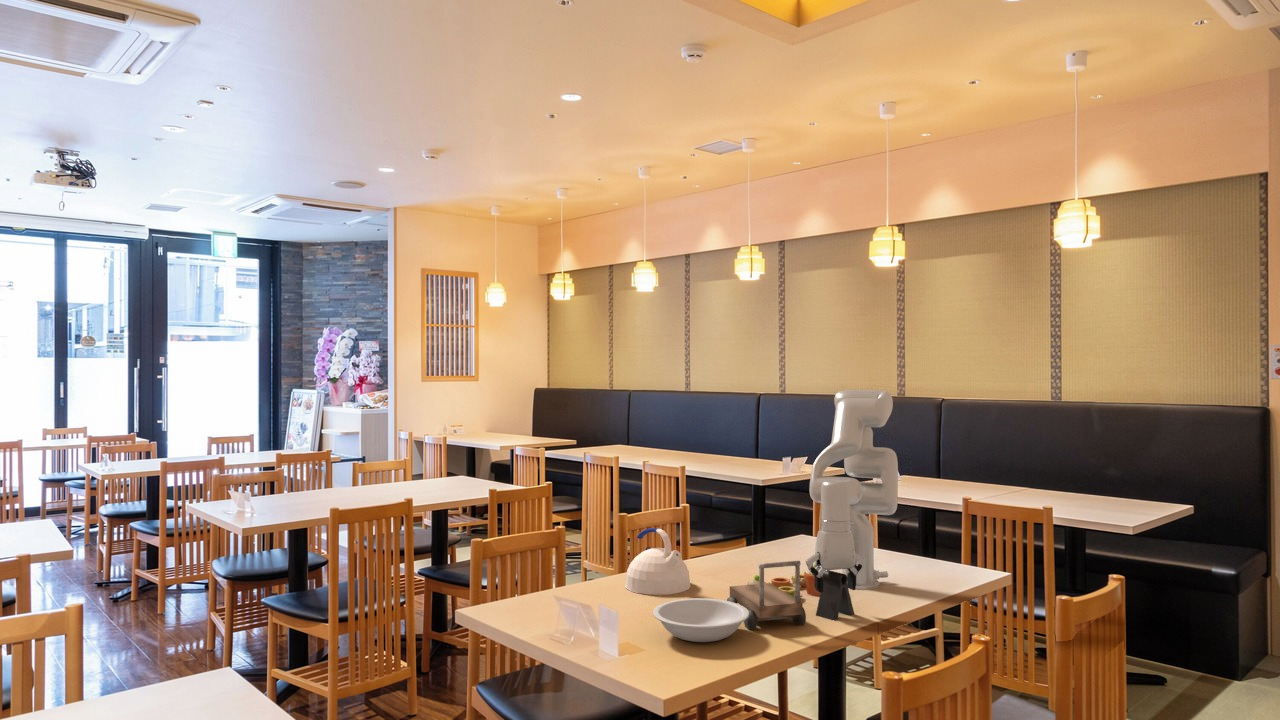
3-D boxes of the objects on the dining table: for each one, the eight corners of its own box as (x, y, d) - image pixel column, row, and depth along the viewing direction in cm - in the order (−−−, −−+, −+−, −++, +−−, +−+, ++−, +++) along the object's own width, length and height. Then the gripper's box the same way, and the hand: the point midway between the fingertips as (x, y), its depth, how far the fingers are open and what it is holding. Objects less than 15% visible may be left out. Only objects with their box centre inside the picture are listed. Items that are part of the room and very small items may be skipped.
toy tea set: (802, 584, 259) (802, 553, 259) (840, 595, 246) (839, 562, 246) (738, 597, 245) (738, 564, 245) (774, 610, 232) (773, 575, 232)
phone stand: (833, 622, 219) (833, 577, 219) (815, 617, 224) (815, 572, 224) (854, 616, 225) (854, 571, 225) (837, 611, 230) (836, 567, 230)
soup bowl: (657, 621, 221) (657, 596, 221) (748, 624, 218) (748, 599, 218) (648, 652, 197) (648, 625, 197) (750, 656, 195) (750, 627, 195)
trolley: (775, 607, 233) (774, 544, 233) (808, 629, 214) (808, 560, 214) (724, 612, 229) (723, 548, 229) (753, 634, 210) (753, 565, 210)
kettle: (652, 600, 242) (651, 537, 242) (612, 585, 259) (611, 526, 259) (705, 588, 254) (704, 529, 254) (663, 575, 270) (663, 519, 271)
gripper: (856, 522, 231) (856, 585, 230) (799, 525, 226) (799, 588, 225) (871, 527, 223) (871, 591, 223) (813, 530, 219) (813, 595, 218)
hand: (835, 590), depth 224 cm, fingers open, 9 cm apart
